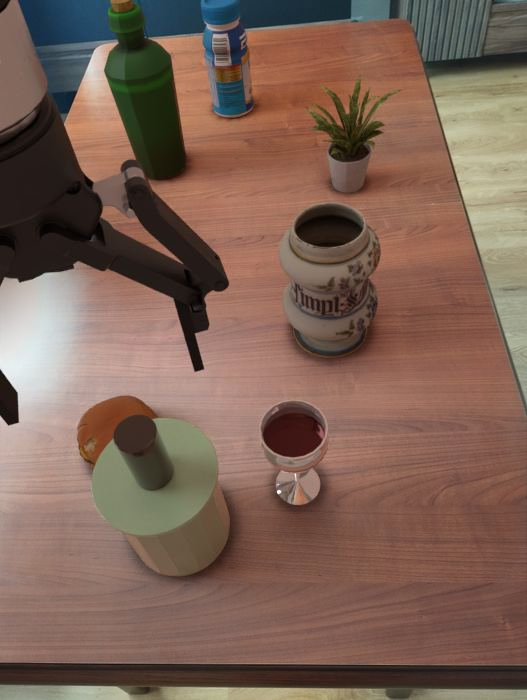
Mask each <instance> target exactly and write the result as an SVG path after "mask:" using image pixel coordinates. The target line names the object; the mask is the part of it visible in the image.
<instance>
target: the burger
mask: <svg viewBox="0 0 527 700" xmlns="http://www.w3.org/2000/svg"><path fill="white" fill-rule="evenodd" d="M132 415H145V416H148V417H150V418H151V419H156V418H159V417H158V415H157V414H156V412H155V411H154V409H152V408H151V407H150V406H148V404H146V403H145V402H144V401H143V400H142V399H140V398H138V397H136V396H133V395H130V394H129V395H128V394H127V395H118V396H114V397H110V398H108V399H105V400H102V401H100V402H98V403H96V404H94V405H93V406H91V407H90V408H89V409H88V410H86V411H85V413H83V415H82V416H81V418H80V420H79V423H78V425H77V429H76V431H77V434H76V441H77V443H78V451H79V455H80V456H81V457H82V458H83V460H84V461H85V463H87V464H89V466H91V469H92V470H94V467H95V465H96V462H97V460H98V458H99V456H100V454H101V453H102V451H103V450H104V448H105V447H106V446H107V445H108V444H109V442H110V441H111V440H113V434H114V430H115V428H116V427H117V425H118V424H119V423H120V422H121V421H122V420H123V419H125V418H127V417H129V416H132Z"/></svg>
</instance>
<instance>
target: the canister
mask: <svg viewBox="0 0 527 700" xmlns="http://www.w3.org/2000/svg"><path fill="white" fill-rule="evenodd" d="M230 529H231V517H230V512H229V509H228V505H227V502H226V499H225V496H224V493H223V490H222V487H221V484H220V481H219V480H218V482H217V486H216V489H215V492H214V494H213V496H212V498H211V500H210V502H209V503H208V505H207V506H206V507H205V509H204V510H203V511H202V512H201V513H200V514H199V515H198V516H197V517H196V518H195V519H194V520H193V521H192V522H190V523H189V524H187V525H186V526H184V527H182V528H181V529H179V530H177V531H174V532H172V533H169V534H166V535H162V536H158V537H135V536H130V535H127V534H124V533H122V535H123V536H124V538H125V539H126V540H127V542H128V543H129V544H130V546H131V547H132V548H133V551H135V552H136V554H137V555H138V557H139V558H140V560H141V561H142V562H143V564H145V566H147V567H148V568H149V569H151V570H153V571H154V572H156V573H158V574H160V575H163V576H168V577H187V576H190V575H193V574H196V573H198V572H200V571H202V570H204V569H206V568H207V567H208V566H209V565H211V564H213V562H214V561H215V560H216V559H217V558H218V557H219V556H220V554H221V553H222V551H223V550H224V548H225V546H226V544H227V541H228V539H229V536H230Z"/></svg>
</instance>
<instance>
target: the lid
mask: <svg viewBox="0 0 527 700" xmlns="http://www.w3.org/2000/svg"><path fill="white" fill-rule="evenodd" d="M219 465H220V463H219V458H218V455H217V452H216V449H215V446H214V443H212V441H211V439H210V438H209V437H208V435H207V434H206V433H205V432H204V431H202V430H201V429H200V427H199V428H198V427H197V426H196V425H194V424H192V423H190V422H188V421H185V420H182V419H178V418H171V417H158V418H156V419H151V418H150V417H148V416H145V415H132V416H129V417H127V418H125V419H123V420H122V421H121V422H120V423H119V424H118V425H117V427H116V428H115V430H114V434H113V440H111V441H110V442H109V444H108V445H107V446H106V447H105V448H104V450H103V451H102V453H101V454H100V456H99V458H98V460H97V462H96V465H95V467H94V470H93V469H92V470H93V471H92V475H91V481H90V488H91V489H90V491H91V496H92V497H91V498H92V501H93V503H94V507H95V509H96V510H97V512H98V514H99V515H100V517H101V518H102V520H104V521H105V522H106V523H107V524H108V525H109V526H110V527H111V528H113V529H115V530H116V531H118V532H119V533H121V534H123V533H124V534H127V535H130V536H135V537H158V536H162V535H166V534H169V533H172V532H174V531H177V530H179V529H181V528H182V527H184V526H186V525H187V524H189V523H190V522H192V521H193V520H194V519H195V518H196V517H197V516H198V515H199V514H200V513H201V512H202V511H203V510H204V509H205V507H206V506H207V505H208V503H209V502H210V500H211V498H212V496H213V494H214V492H215V489H216V486H217V482H218V481H219V474H220V467H219ZM124 534H123V535H124Z"/></svg>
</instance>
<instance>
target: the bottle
mask: <svg viewBox="0 0 527 700" xmlns="http://www.w3.org/2000/svg"><path fill="white" fill-rule="evenodd" d="M109 2H110V5H111V6H110V7H109V8H108V10H107V16H108V17H107V18H108V28H109V30H110V31H111V32H113V33H114V34H115V38H116V39H117V42H118V43H117V44H115V45H114V47H112V49H111V50H109V52H108V54H107V59H106V62H105V64H104V69H103V72H104V76H105V78H106V81H107V83H108V86H109V89H110V92H111V95H112V97H113V100H114V103H115V106H116V108H117V111H118V114H119V116H120V119H121V123H122V124H123V127H124V130H125V134H126V136H127V139H128V141H129V142H128V143H129V144H130V147H131V150H132V153H133V156H134V159H135V160H137V161H139V162H140V163H141V165H142V167H143V169H144V172H145V174H146V176H147V178H148V179H149V178H150V179H152V180H162V179H169V178H171V177H174V176H176V175H179V174H180V173H181V172H182V171H183V170H184V169H185V168H186V167H187V154H186V147H185V146H186V145H185V140H184V139H185V138H184V133H183V127H182V121H181V113H180V106H179V100H178V94H177V87H176V80H175V74H174V68H173V67H174V66H173V61H172V55H171V54H170V53H169V52H168V51H167V50H166V49H165V48H164V47H163V46H162V45H161V44H160V43H159V42H157V41H156V40H153V39H150V38H148V37H146V36H145V30H144V26H146V24H147V20H146V17H145V15H144V12H143V10H142V8H141V6H140V4H138V3H137V2H135V1H134V0H109Z"/></svg>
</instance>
